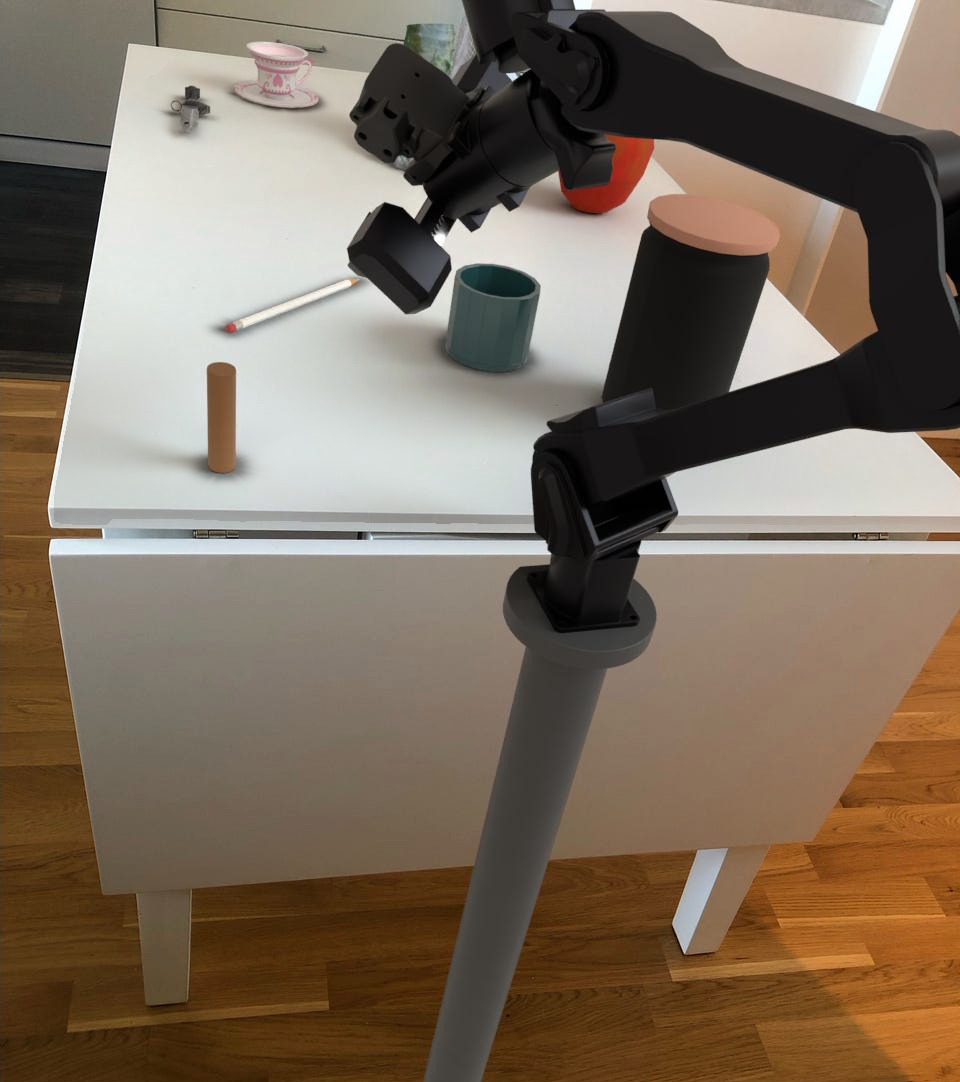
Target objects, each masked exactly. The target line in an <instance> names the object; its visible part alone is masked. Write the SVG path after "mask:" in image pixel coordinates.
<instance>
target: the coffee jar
mask: <svg viewBox="0 0 960 1082" xmlns="http://www.w3.org/2000/svg"><path fill="white" fill-rule="evenodd" d="M646 219H647V221H648V223H649V225H648V226H647V227H646V228H645V229H644V230H643V231H642V233H641V236H640V240H639V244H638V247H637V252H636V256H635V259H634V263H633V268H632V272H631V275H630V276H631V277H630V280H629V284H628V289H627V292H626V297H625V301H624V304H623V308H622V312H621V316H620V320H619V325H618V328H617V332H616V336H615V341H614V344H613V347H612V352H611V357H610V361H609V365H608V369H607V373H606V376H605V380H604V385H603V389H602V393H601V402H602V403H605V402H608V401H611V400H614V399H618V398H621V397H624V396H627V395H630V394H633V393H637V392H640V391H643V390H646V389H649V388H652V389H653V394H654V401H655V407H656V408H659V409H665V410H671V409H677V408H680V407H683V406H687V405H690V404H693V403H696V402H699V401H702V400H706V399H709V398H712V397H715V396H718V395H721V394H724V393H728V392H730V390H731V386H732V384H733V381H734V378H735V375H736V372H737V369H738V365H739V362H740V359H741V357H742V353H743V351H744V347H745V344H746V341H747V338H748V335H749V332H750V329H751V326H752V323H753V321H754V318H755V314H756V311H757V308H758V306H759V302H760V299H761V296H762V294H763V290H764V287H765V285H766V281H767V278H768V275H769V272H770V267H771V266H770V265H771V264H770V257H769V253H770V252H771V251H772V250H774V249H775V248H776V247H777V245H778V244H779V240H780V239H781V235H780V229H779V227H778V226H777V225H776V224H775V223H774V221H772V220H771V219H769V218H767V217H766V216H764V215H763V214H761V213H759V212H758V211H755V210H753V209H751V208H749V207H747V206H744V205H741V204H737V203H735V202H731V201H730V200H729V201H728V200H724V199H721V198H715V197H712V196H707V195H698V194H691V193H669V194H665V195H660V196H659V195H658V196H656V197H654V198H653V199H652V200H650V202H649V205H648V210H647V216H646ZM602 403H601V404H602Z"/></svg>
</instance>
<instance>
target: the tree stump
mask: <svg viewBox="0 0 960 1082" xmlns="http://www.w3.org/2000/svg"><path fill="white" fill-rule="evenodd" d="M405 31H406V32H405V36H404V40H403V43H402V44H403V45H405V46H407V47H408V48H410V49H411V50H413V51H414V52H415V53H417V54H418V55H420V56H421V57H423V58H424V59H426V60H427V61H428V62H430V63H431V64H433V65H434V66H436V67H437V68H438V69H440V70H441V71H443V72H444V73H446V74H447V75H448V76H449V77H450V78H451V80H452V79H453V67H454V61H453V52H455V51H456V46H455V45H454V42H455V37H456V34H457V33H456V30H455V24H453V23H436V22H435V23H413V24H407V25H406V30H405ZM412 160H413V158H406V157H404V156H398V157H397V158H396V160H395V162H394V163H388V164H389V165H390V166H392V167H394V168H396V169H400V170H402V171H405V169H406V167H407V166H408V164H409V163H410V161H412Z"/></svg>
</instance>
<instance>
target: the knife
mask: <svg viewBox="0 0 960 1082" xmlns="http://www.w3.org/2000/svg"><path fill="white" fill-rule="evenodd" d="M184 96H185V99H184V101H183V102H182V103H181V102H180V100H177V99H174V100H172V101H171V103H170V108H171V110H172V111H173V112H176V113H177V112H181V113H180V119H179V123H180V124H181V126H182V128H183V129H184V131H185V134H188V133H190V132H194V131H195V130H197V128H198V125H199V117H202V116H205V115H208V114H210V113H211V106H210V105H209V104H206V103H205V102H202V101H201V100H200V98H201V88H199V87H197V86H195V85H189V86H185V87H184ZM174 103H178V104H179V105H180V107H179V109H175V108H174V107H173V104H174Z"/></svg>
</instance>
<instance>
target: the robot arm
mask: <svg viewBox="0 0 960 1082" xmlns="http://www.w3.org/2000/svg"><path fill="white" fill-rule="evenodd" d="M461 3H462V7H463V10H464V13H465V17H466V21H467V23H468V24H467V25H468V29H469V32H470V36H471V39H472V44H473V46H474V50H475V53H476V54H474V55H473V56H471V57H470V58H469V59H468V60H467V61H465V62H464V63H463V64H461V65H460V66H459V67H458V70H457V71H456V73H455V74H454V75H453V76H452V80H451V78H450V77H449V76H448V75H447V74H446V73H444V72H443V71H441V70H440V69H438V68H437V67H436V66H434V65H433V64H431V63H430V62H428V61H427V60H426V59H424V58H423V57H421V56H420V55H418V54H417V53H415V52H414V51H413V50H411V49H410V48H408V47H407V46H405V45H403V44H404V43H397V42H395V43H391V44H389V45H388V46H387V47H386V48H385V49H384V51H383V53H382V54H381V56H379V59H378V60H377V61H376V63H375V64H374V66H373V68H372V69H371V71H370V72H369V74H368V75H367V77H366V79H365V81H364V83H363V86H362V89H361V92H360V95H359V98H358V100H357V101H356V103H355V104H354V106H353V108H352V109H351V111H350V112H349V115H348V116H349V119H350V121H351V122H353V124H355V126H356V128H355V131H354V134H353V138H354V140H355V142H356V144H357V145H358V146H359V147H360V148H362V149H363V150H365V151H366V152H368V153H370V154H371V155H373V156H374V157H375V158H377V159H378V160H380V161H382V162H383V163H385V164H389V163H394V162H395V160H396V158H397V157H398V156H404V157H406V158H413V160H412V161H410V163H409V164H408V166H407V167H406V169H405V170H404V173H403V174H402V176H403V179H404V180H405V181H406V182H407V183H408V184H409V185H411V186H413V187H417V186H422V188H423V191H424V193H425V195H426V199H425V200H424V202H423V204H422V205H421V207H420V209H419V210H418V212H417V213H416V215H415V217H413V216H412V215H411V214H410V213H409V212H408V211H407V210H406V209H405V208H404V207H403V206H400V205H397V204H393V203H390V202H387V201H384V202H382V203H381V204H379V205H377V206H376V207H375V208H374V209H373V210H372V211H368V213H367V215H366V216H365V218H364V219H363V221H362V222H361V224H360V226H359V228H358V229H357V231H356V232H355V234H353V238H352V240H351V241H350V242H349V244H348V245H347V247H346V251H347V257H348V263H347V267H348V268H349V269H350V270H351V271H352V272H353V273H354V274H355V275H356V276H358V277H362V278H364V279H368V280H369V281H370V282H371V283H372V284H373V285H374V286H375V287H376V288H377V289H378V290H379V291H380V292H381V293H382V294H383V295H384V296H386V298H387V299H388V300H390V301H391V302H392V304H394V305H395V306H396V307H397V308H398V309H399V310H400V311H401V312H402V313H403V314H404V315H417V314H419V313H420V312H423V311H425V310H427V309H429V308H431V307H432V305H433V303H434V302H435V301H436V298H437V296H438V295H439V293H440V291H441V289H442V288H443V286H444V284H445V283H446V281H447V279H448V277H449V276H450V274H451V272H452V270H453V268H452V267H453V266H452V258H451V255H450V254H449V252H447V250H445V248H443V244H444V242H445V241H446V239H447V237H448V235H449V233H450V232H451V230H452V228H453V227H454V225H455V223H456V221H459V222H460V223H461V224H462V225H463V226H464V227H465V228H466V229H467V230H468V231H469V232H470V233H473V232H475V231H477V230H479V229H481V227H482V226H483V224H484V222H485V220H486V218H487V217H488V215H489V213H490V212H491V210H492V209H493V208H495V207H497V206H498V205H500V204H501V205H502V206H503V207H504V208H505V209H506V210H507V211H508V212H509V213H510V212H512V211H514V210H516V209H517V208H520V206H521V205H522V203H523V201H524V199H525V197H526V195H527V194H528V192H529V190H530V189H531V187H532V186H534V185H536V184H537V183H539V182H542V181H543V180H545V179H546V178H548V177H551V176H552V175H554V174H555V173H557V172H558V171H559V170H560V173H561V177H562V181H563V185H564V187H565V189H566V190H568V191H570V190H577V189H584V188H591V187H598V186H605V185H608V184H609V183H610V181H611V176H612V172H613V162H612V160H613V155H614V153H615V151H616V145H615V144H614V143H613V142H610V141H609V140H608V139H607V137H606V135H612V136H619V137H627V138H642V139H654V140H657V141H670V142H678V143H683V144H687V145H690V146H692V147H695V148H697V149H700V150H702V151H704V152H707V153H709V154H712V155H714V156H717V157H718V158H722V159H723V160H726V161H728V162H732V163H734V164H736V165H739V166H741V167H744V168H746V169H748V170H751V171H754V172H756V173H759V174H761V175H763V176H766V177H768V178H771V179H773V180H776V181H779V182H780V183H784V184H785V185H788V186H791V187H793V188H796V189H798V190H801V191H803V192H805V193H807V194H810V195H812V196H815V197H817V198H820V199H822V200H825V201H827V202H829V203H833V204H834V205H837V206H839V207H842V208H845V209H847V210H849V211H851V212H854V213H857V214H858V217H859V220H860V222H861V226H862V229H863V231H864V234H865V237H866V241H867V271H868V303H869V307H870V308H869V309H870V312H871V315H872V318H873V320H874V321H873V322H874V323H875V326H876V329H877V331H875V332H873V333H871V334H870V335H868V336H865V337H864V338H862V339H861V340H859V341H858V342H856V343H855V344H854V345H852V346H851V347H849V348H848V349H846V350H845V351H843V352H842V353H841V354H839V355H837V356H836V357H833V358H832V359H829V360H826V361H823V362H820V363H817V364H814V365H810V366H807V367H803V368H801V369H797V370H794V371H791V372H788V373H784V374H781V375H778V376H775V377H772V378H768V379H766V380H762V381H759V382H755V383H754V384H753V383H752V384H750V385H747V386H744V387H740V388H737V389H734V390H731V391H729V392H728V393H724V394H721V395H718V396H715V397H712V398H709V399H706V400H702V401H699V402H696V403H693V404H690V405H687V406H683V407H680V408H677V409H671V410H665V409H659V408H656V407H655V401H654V394H653V389H652V388H649V389H646V390H643V391H640V392H637V393H633V394H630V395H627V396H624V397H621V398H618V399H614V400H611V401H608V402H605V403H598V404H596V405H592V406H590V407H587V408H584V409H582V410H578V411H575V412H571V413H568V414H566V415H563V416H562V415H561V416H559V417H556V418H553V419H550V420H547V421H546V427H547V428H549V430H550V431H547V432H545V433H543V434H541V435H540V436H539V437H538V438H537V439H536V440H535V441H534V443H533V446H532V447H533V454H532V461H531V466H530V485H531V498H532V499H531V501H532V515H533V527H534V532H535V534H536V535H537V536H539V537H540V538H542V539H543V540H544V541H545V544H546V545H547V547H546V549H547V551H548V553H550V559H549V563H548V564H549V567H548V570H543V571H531V572H529V573H528V575H527V581H528V583H529V585H530V587H531V589H532V590H533V592H534V594H535V596H536V598H537V599H538V601H539V603H540V605H541V607H542V609H543V610H544V612H545V614H546V616H547V618H548V620H549V621H550V623H551V625H552V627H553V629H554V630H555V631H556V632H558V633H572V632H582V631H592V630H602V629H612V628H623V627H633V626H637V625H638V624H639V620H640V617H639V615H638V614H637V612H636V611H635V609H634V608H633V606H632V605H631V603H630V601H629V600H628V594H629V591H630V588H631V584H632V581H633V578H634V579H635V574H636V572H637V568H638V565H639V562H640V559H641V558H640V557H641V555H640V553H639V552H640V547H641V546H642V545H641V544H642V540H643V539H646V538H649V537H650V536H653V535H655V534H657V533H658V534H661V533H662V532H665V531H667V529H668V528H669V527H670V526H671V524H672V523H673V522H674V520H676V518H677V517H678V515H679V510H678V507H677V504H676V501H675V498H674V496H673V493H672V490H671V488H670V485H669V482H668V479H667V478H668V477H671V476H672V475H674V474H675V473H678V472H681V471H682V472H683V471H686V470H690V469H693V468H698V467H701V466H707V465H709V464H713V463H717V462H721V461H725V460H729V459H732V458H737V457H741V456H745V455H749V454H752V453H756V452H760V451H764V450H768V449H773V448H776V447H780V446H784V445H789V444H792V443H796V442H800V441H805V440H809V439H812V438H816V437H820V436H824V435H828V434H832V433H835V432H840V431H844V430H855V429H856V430H864V431H870V432H877V433H885V434H886V433H887V434H899V433H916V432H919V433H921V432H938V431H941V432H942V431H951V430H952V431H953V430H958V429H960V135H959V134H957V133H955V132H954V131H952V130H948V129H928V128H924V127H921V126H919V125H916V124H912V123H909V122H907V121H904V120H901V119H899V118H895V117H892V116H890V115H887V114H884V113H881V112H878V111H875V110H872V109H869V108H867V107H863V106H860V105H858V104H855V103H852V102H849V101H846V100H843V99H840V98H837V97H834V96H832V95H828V94H826V93H822V92H820V91H817V90H814V89H811V88H808V87H805V86H803V85H800V84H796V83H794V82H791V81H788V80H785V79H783V78H780V77H777V76H773V75H771V74H767V73H765V72H762V71H759V70H756V69H753V68H750V67H747V66H745V65H744V64H742V63H740V62H738V61H737V60H735V59H734V58H733V57H731V56H730V55H728V54H727V52H726V51H725V50H724V49H723V47H722V46H721V44H720V43H719V42H718V41H717V40H716V39H715V38H714V37H713V36H711V35H710V34H708V33H707V32H705V31H704V30H702V29H700V28H699V27H697V26H695V25H694V24H692V23H691V22H689V21H688V20H686V19H684V18H683V17H682V16H679V15H678V14H676V13H674V12H672V11H663V10H661V11H660V10H637V11H636V10H634V11H633V10H631V11H630V10H628V11H627V10H625V11H624V10H616V11H615V10H614V11H607V10H605V9H603V8H601V9H600V8H599V9H592V8H591V9H588V8H587V9H576V6H575V1H574V0H461ZM524 71H525V72H524ZM520 72H524V73H522V74H521V75H519V76H518V77H516V78H515V79H511V77H510V76H509V75H508V74H515V73H516V74H517V73H520ZM605 134H606V135H605ZM947 276H948V277H947ZM948 278H949V279H950V280H951V282H952V283H953V285H954V288H955V291H956V294H957V295H956V294H955V295H954V293H953V291H952V288H951V285H950V283H949V279H948Z"/></svg>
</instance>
